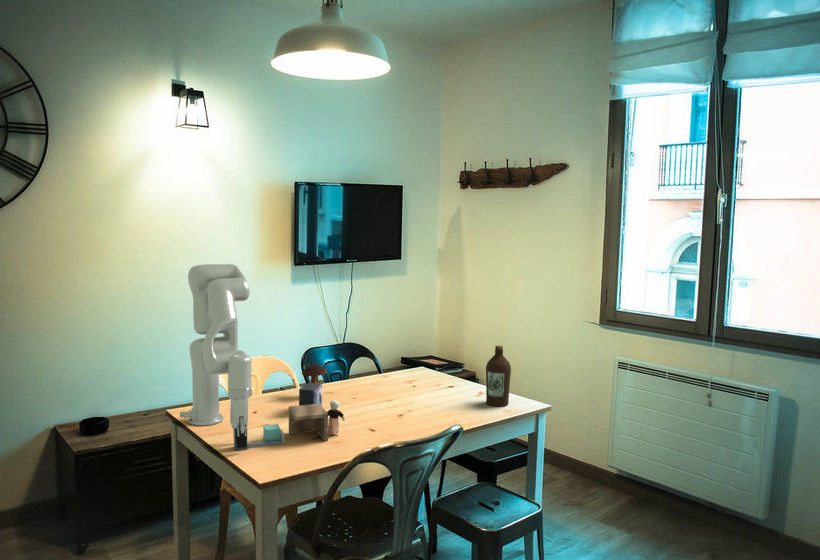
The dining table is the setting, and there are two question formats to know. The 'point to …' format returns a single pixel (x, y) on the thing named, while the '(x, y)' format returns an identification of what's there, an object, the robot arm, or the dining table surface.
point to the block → (271, 432)
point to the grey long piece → (259, 444)
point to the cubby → (308, 420)
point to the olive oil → (498, 379)
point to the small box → (310, 394)
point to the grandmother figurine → (334, 418)
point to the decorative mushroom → (314, 372)
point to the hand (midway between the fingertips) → (239, 442)
